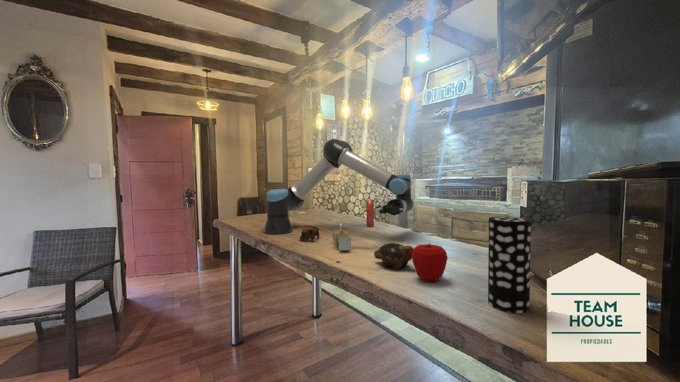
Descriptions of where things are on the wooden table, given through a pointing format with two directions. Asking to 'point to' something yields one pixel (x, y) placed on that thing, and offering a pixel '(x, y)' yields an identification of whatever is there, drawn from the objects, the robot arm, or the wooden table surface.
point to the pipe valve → (341, 240)
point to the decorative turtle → (394, 255)
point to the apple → (429, 261)
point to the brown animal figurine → (309, 233)
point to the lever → (369, 217)
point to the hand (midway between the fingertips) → (374, 212)
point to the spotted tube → (509, 264)
